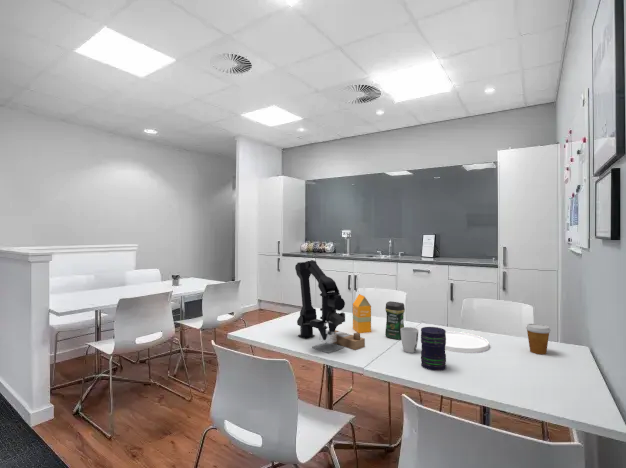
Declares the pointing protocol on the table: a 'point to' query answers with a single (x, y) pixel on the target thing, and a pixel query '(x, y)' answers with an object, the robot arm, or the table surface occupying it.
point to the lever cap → (329, 337)
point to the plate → (465, 342)
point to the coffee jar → (394, 319)
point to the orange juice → (361, 315)
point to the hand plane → (350, 340)
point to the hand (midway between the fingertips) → (328, 338)
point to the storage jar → (433, 348)
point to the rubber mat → (328, 347)
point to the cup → (409, 339)
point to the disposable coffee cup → (538, 338)
